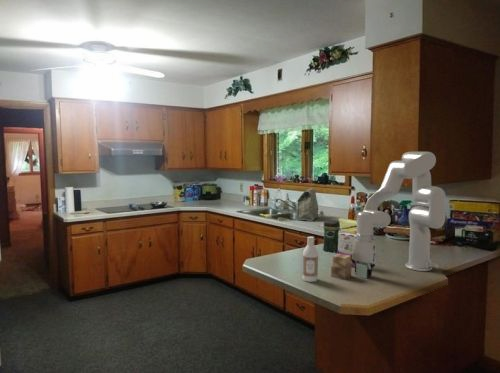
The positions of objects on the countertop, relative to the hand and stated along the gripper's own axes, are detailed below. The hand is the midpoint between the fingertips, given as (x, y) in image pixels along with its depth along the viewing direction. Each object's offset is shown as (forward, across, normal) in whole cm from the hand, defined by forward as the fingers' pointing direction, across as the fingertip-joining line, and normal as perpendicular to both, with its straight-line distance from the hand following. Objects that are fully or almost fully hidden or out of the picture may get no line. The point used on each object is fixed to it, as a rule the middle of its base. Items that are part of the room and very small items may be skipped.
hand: (363, 275), depth 176 cm
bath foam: (+1, +17, +21) cm, 27 cm away
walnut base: (+1, +8, +7) cm, 11 cm away
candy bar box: (+1, +13, -13) cm, 18 cm away
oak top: (-4, +8, +7) cm, 11 cm away
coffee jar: (+1, +33, -33) cm, 47 cm away
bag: (+1, +98, -118) cm, 153 cm away
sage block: (+1, 0, 0) cm, 1 cm away
